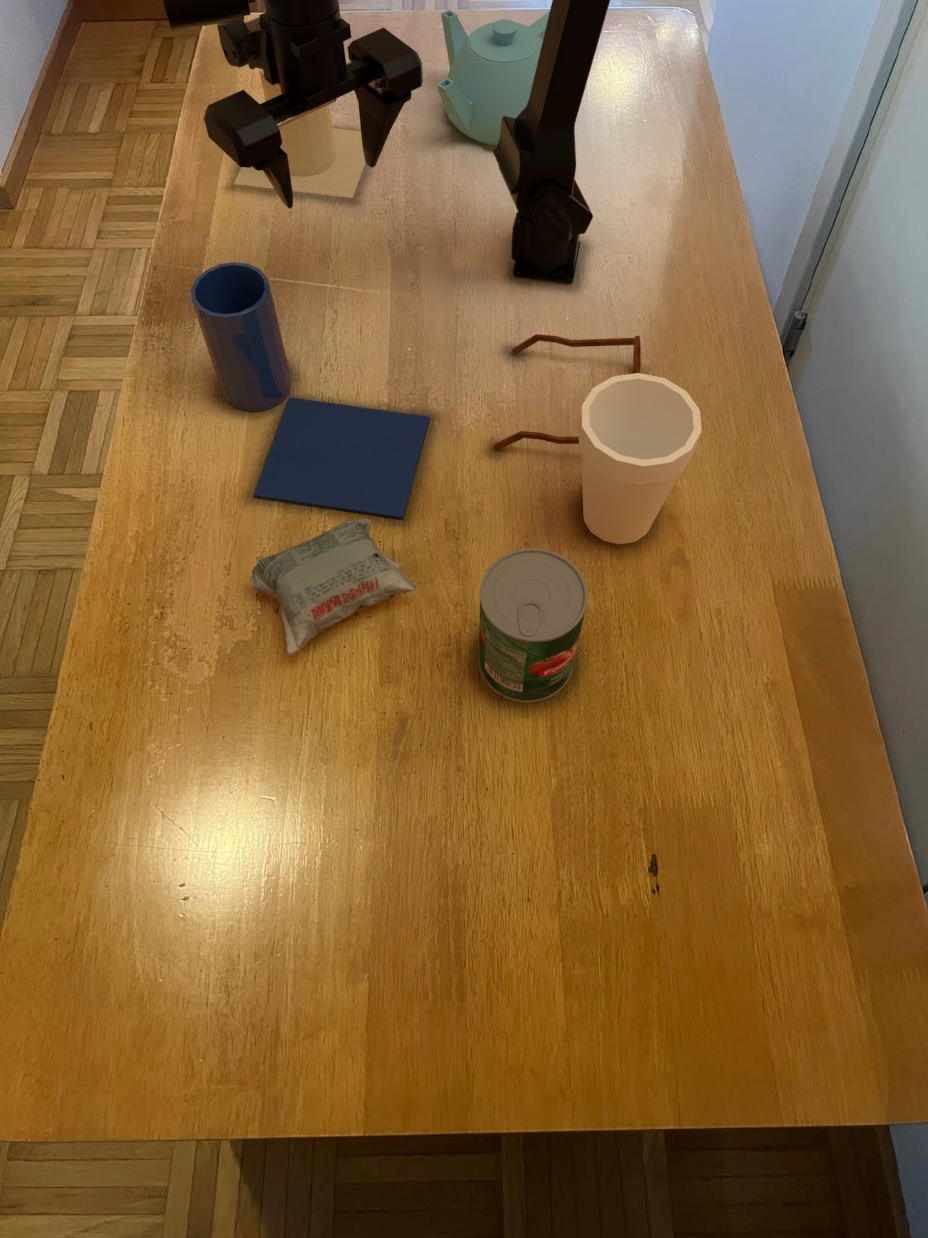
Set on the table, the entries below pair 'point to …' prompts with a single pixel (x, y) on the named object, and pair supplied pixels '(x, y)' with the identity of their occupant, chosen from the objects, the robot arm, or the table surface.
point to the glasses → (570, 343)
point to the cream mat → (330, 182)
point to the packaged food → (328, 580)
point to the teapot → (489, 73)
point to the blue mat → (343, 458)
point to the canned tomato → (530, 623)
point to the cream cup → (305, 138)
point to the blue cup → (242, 335)
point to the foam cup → (633, 452)
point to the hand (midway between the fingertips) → (329, 184)
